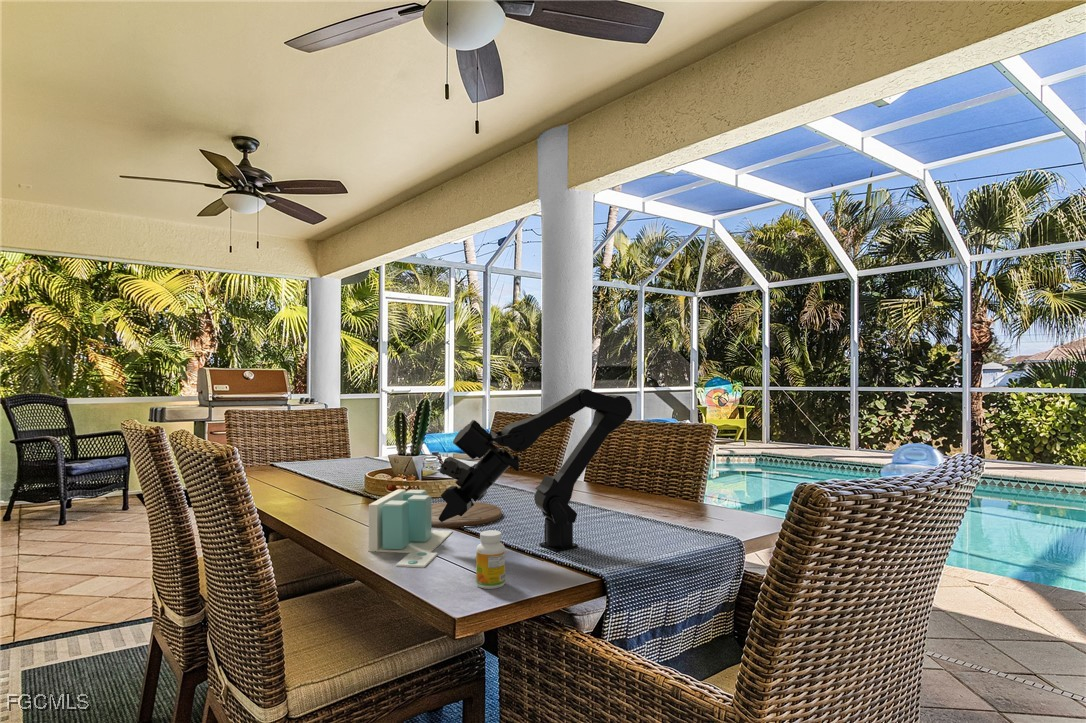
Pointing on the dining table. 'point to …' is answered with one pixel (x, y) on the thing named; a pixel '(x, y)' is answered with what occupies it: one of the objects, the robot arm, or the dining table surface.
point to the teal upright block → (419, 518)
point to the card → (417, 559)
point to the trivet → (466, 515)
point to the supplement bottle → (490, 560)
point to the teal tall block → (395, 524)
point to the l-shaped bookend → (377, 529)
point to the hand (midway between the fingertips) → (440, 520)
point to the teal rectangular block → (413, 493)
